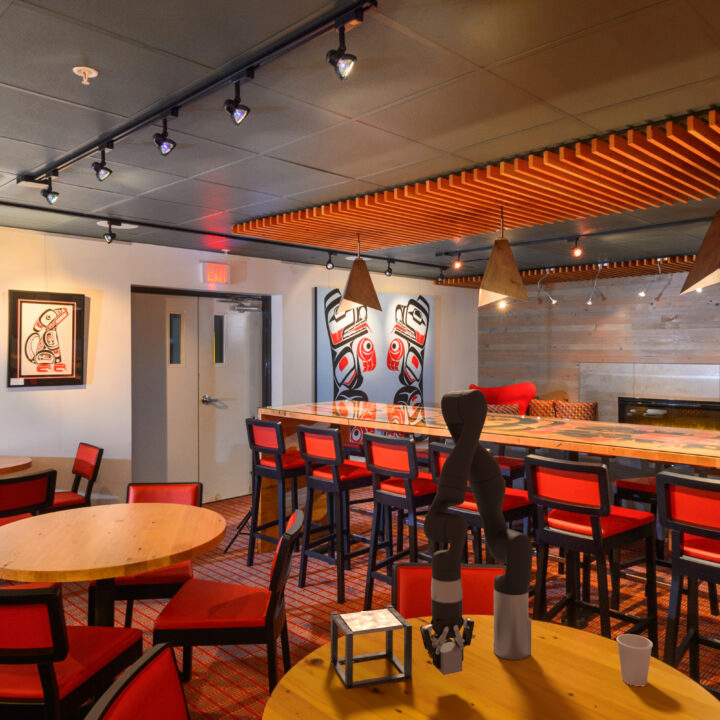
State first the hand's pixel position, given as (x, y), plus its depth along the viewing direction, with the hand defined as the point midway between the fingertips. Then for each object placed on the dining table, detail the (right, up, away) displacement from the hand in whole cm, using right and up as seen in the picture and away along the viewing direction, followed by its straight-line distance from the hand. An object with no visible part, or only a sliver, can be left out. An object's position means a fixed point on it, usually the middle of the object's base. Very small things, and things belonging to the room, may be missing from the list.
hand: (448, 665), depth 153 cm
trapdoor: (-19, +6, +9) cm, 22 cm away
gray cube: (0, -1, 0) cm, 1 cm away
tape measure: (+1, -6, +21) cm, 22 cm away
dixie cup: (+47, -6, +4) cm, 48 cm away
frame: (-19, -6, +9) cm, 22 cm away
